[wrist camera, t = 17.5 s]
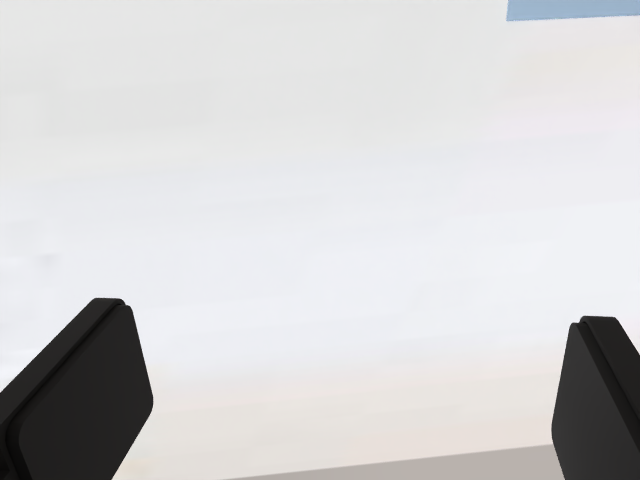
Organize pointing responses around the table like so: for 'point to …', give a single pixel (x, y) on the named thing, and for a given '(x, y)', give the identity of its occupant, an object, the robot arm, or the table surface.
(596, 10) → the lid
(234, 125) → the table surface
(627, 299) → the table surface
